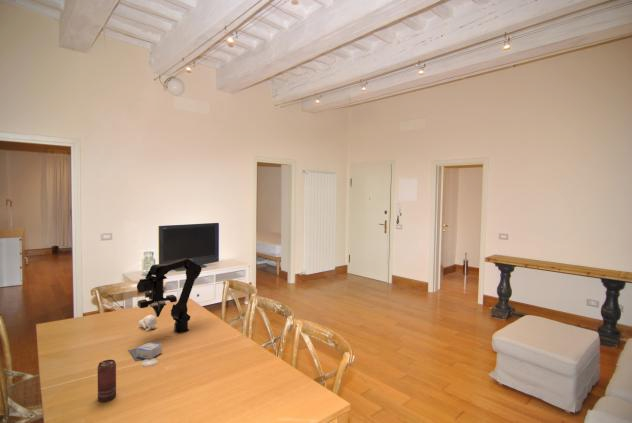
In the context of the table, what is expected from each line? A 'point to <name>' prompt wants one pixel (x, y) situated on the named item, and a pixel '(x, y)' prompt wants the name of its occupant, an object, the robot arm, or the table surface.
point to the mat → (133, 353)
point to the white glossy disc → (149, 362)
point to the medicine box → (148, 350)
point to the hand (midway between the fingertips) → (157, 316)
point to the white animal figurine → (148, 322)
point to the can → (106, 380)
